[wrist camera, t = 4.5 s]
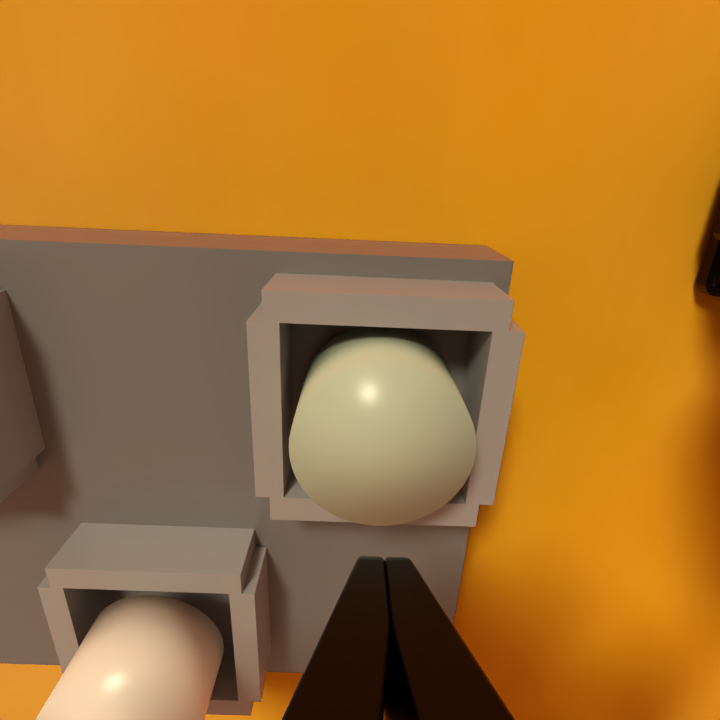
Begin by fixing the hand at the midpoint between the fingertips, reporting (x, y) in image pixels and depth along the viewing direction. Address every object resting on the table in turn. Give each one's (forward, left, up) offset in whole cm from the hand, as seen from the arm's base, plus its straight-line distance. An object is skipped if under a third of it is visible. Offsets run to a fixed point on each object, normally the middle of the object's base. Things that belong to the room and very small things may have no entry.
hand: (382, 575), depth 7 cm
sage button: (0, 0, -7) cm, 7 cm away
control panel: (+7, +4, -10) cm, 13 cm away
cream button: (+7, +9, -5) cm, 12 cm away
